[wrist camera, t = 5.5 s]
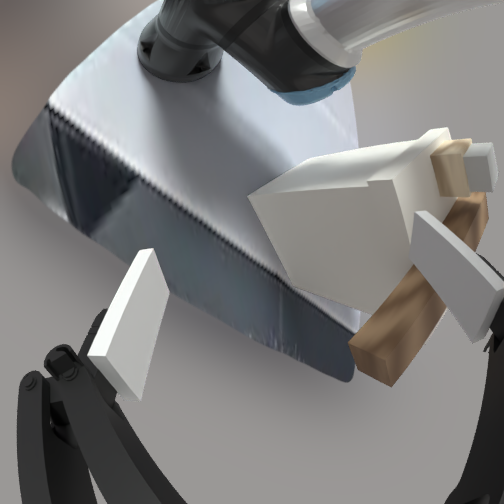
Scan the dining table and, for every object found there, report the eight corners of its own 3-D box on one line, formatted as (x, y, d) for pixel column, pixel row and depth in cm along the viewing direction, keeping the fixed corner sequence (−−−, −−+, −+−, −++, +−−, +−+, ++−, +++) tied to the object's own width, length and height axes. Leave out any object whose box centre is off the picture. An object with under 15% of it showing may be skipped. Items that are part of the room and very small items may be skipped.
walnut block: (358, 369, 23) (391, 387, 19) (347, 342, 21) (385, 360, 18) (465, 216, 32) (488, 218, 28) (461, 191, 31) (485, 192, 27)
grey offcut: (469, 191, 23) (492, 192, 21) (462, 156, 22) (486, 156, 19) (478, 174, 25) (498, 175, 22) (471, 143, 24) (492, 142, 21)
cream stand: (291, 293, 56) (425, 345, 30) (239, 193, 48) (392, 179, 22) (347, 243, 62) (471, 262, 36) (309, 152, 54) (448, 127, 28)
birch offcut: (440, 196, 27) (469, 197, 23) (429, 155, 25) (460, 153, 22) (453, 176, 29) (479, 176, 25) (444, 140, 27) (471, 138, 24)
